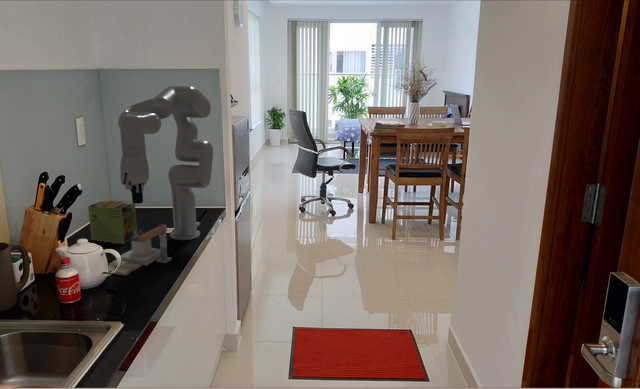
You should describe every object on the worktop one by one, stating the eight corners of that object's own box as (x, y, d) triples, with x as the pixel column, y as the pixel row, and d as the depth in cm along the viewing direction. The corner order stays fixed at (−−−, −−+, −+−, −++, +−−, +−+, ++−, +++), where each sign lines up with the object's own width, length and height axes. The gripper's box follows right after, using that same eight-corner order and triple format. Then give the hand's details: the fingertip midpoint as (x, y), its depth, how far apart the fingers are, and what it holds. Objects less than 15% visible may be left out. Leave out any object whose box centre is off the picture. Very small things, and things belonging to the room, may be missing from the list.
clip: (137, 241, 166) (136, 236, 166) (161, 229, 180) (160, 224, 179) (145, 242, 165) (144, 237, 165) (168, 230, 179) (168, 224, 179)
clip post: (162, 258, 183) (160, 229, 180) (171, 259, 182) (170, 230, 179) (156, 262, 180) (154, 232, 177) (165, 263, 179) (164, 233, 176)
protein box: (125, 244, 197) (122, 208, 193) (90, 241, 199) (87, 206, 196) (138, 236, 207) (135, 201, 203) (105, 233, 209) (102, 199, 206)
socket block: (138, 250, 190) (138, 246, 190) (165, 254, 187) (164, 249, 187) (118, 261, 179) (118, 256, 179) (146, 265, 176) (146, 260, 176)
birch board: (115, 262, 178) (115, 259, 178) (141, 266, 176) (141, 263, 175) (99, 271, 170) (98, 269, 170) (125, 275, 167) (125, 272, 167)
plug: (140, 255, 186) (138, 228, 184) (152, 256, 185) (150, 229, 182) (132, 259, 182) (130, 232, 179) (144, 261, 180) (142, 233, 178)
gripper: (137, 147, 171) (141, 196, 176) (109, 154, 157) (114, 207, 162) (156, 148, 169) (159, 198, 174) (129, 155, 155) (134, 209, 160)
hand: (137, 202), depth 168 cm, fingers closed
